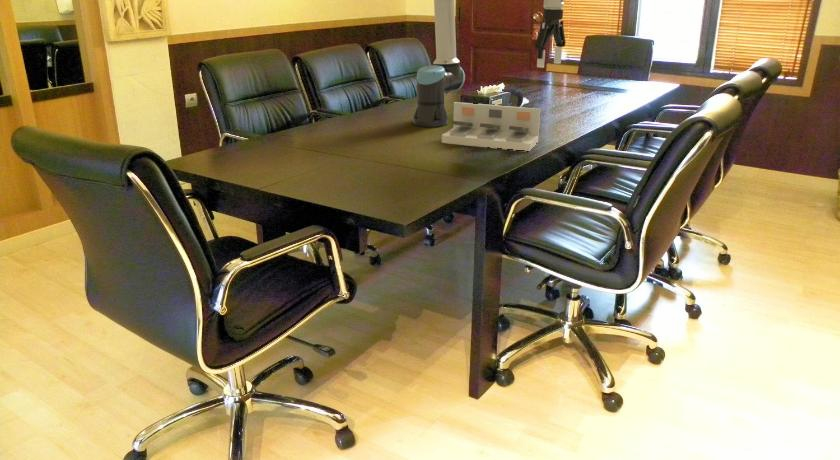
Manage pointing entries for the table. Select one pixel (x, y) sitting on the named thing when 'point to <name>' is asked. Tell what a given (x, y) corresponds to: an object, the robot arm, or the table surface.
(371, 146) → the table surface
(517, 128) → the switch
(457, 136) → the switch unit
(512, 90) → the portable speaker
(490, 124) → the switch
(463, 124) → the switch
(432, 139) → the table surface
